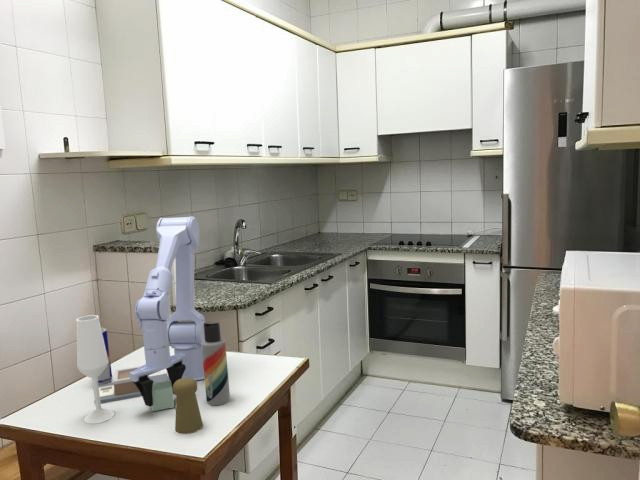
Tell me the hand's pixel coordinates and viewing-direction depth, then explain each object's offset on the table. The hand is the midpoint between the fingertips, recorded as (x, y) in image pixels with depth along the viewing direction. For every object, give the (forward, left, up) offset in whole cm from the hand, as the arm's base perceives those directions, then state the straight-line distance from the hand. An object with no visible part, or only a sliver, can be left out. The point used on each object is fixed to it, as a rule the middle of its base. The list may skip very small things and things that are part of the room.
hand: (162, 399), depth 131 cm
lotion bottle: (-13, +3, -2) cm, 14 cm away
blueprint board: (+7, -14, -2) cm, 16 cm away
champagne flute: (+14, -1, -2) cm, 15 cm away
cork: (-5, +14, -2) cm, 15 cm away
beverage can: (+15, -23, -2) cm, 27 cm away
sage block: (0, 0, -1) cm, 1 cm away
